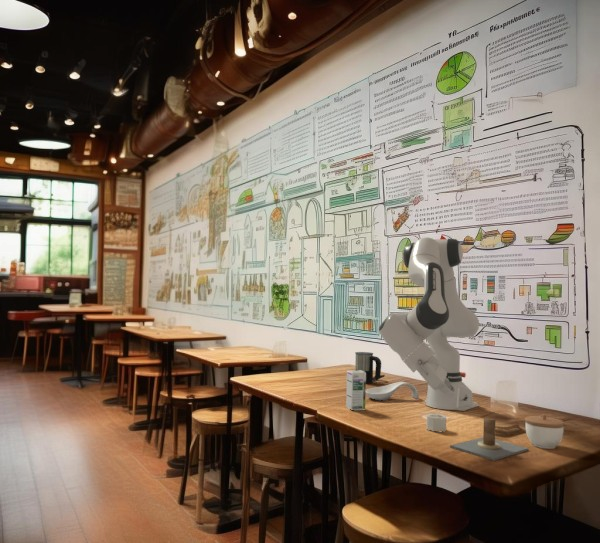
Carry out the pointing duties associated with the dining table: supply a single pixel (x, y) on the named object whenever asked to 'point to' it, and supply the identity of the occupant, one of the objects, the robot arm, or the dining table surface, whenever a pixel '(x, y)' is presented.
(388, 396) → the spoon rest
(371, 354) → the milk frother
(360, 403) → the syrup box
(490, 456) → the mat
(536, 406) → the dining table surface
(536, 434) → the lidded jar
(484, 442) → the brown peg on disc
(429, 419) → the white octagonal base
